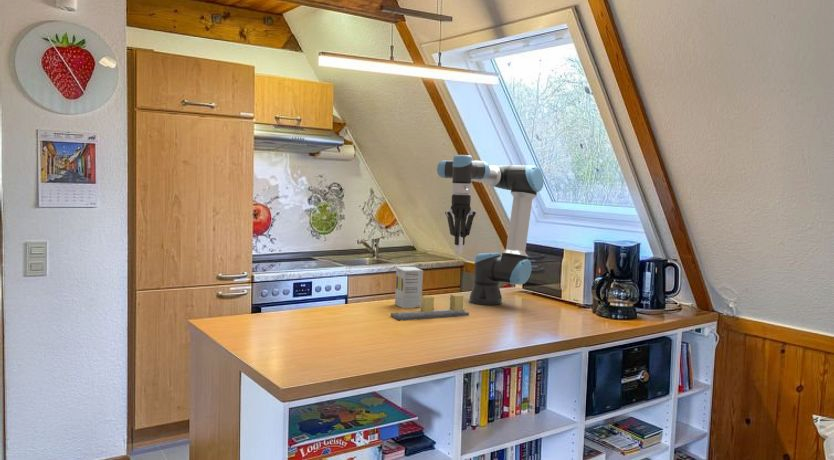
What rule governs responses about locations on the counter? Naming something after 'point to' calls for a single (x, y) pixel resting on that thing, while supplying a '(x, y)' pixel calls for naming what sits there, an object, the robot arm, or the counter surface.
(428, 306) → the block
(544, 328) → the counter surface
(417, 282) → the supplement box
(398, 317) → the board
